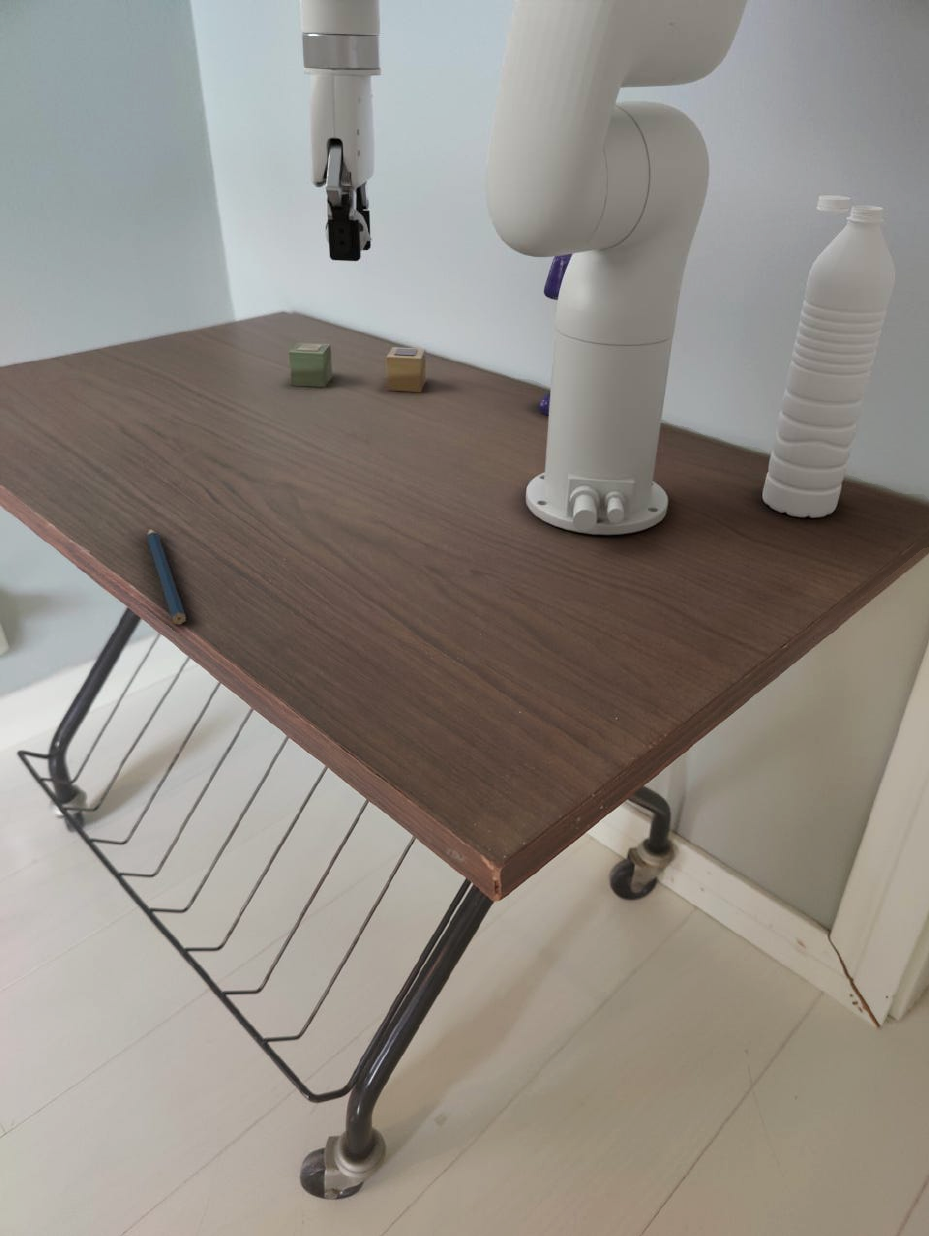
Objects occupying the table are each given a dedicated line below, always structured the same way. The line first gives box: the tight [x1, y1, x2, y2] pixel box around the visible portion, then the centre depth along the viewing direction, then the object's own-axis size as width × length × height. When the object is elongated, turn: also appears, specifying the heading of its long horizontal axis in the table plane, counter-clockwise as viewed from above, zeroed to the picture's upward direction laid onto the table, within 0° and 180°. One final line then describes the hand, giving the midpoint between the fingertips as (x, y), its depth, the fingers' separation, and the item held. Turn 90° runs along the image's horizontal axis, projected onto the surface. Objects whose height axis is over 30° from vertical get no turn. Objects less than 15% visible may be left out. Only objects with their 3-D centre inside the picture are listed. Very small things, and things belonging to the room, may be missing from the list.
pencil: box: [147, 528, 187, 626], centre depth 70 cm, size 1×1×15 cm
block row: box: [288, 342, 427, 393], centre depth 108 cm, size 4×16×4 cm, turn 84°
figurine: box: [325, 210, 373, 252], centre depth 97 cm, size 5×5×5 cm
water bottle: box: [762, 194, 896, 519], centre depth 77 cm, size 9×6×25 cm
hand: (350, 252), depth 99 cm, fingers closed on figurine, 5 cm apart
